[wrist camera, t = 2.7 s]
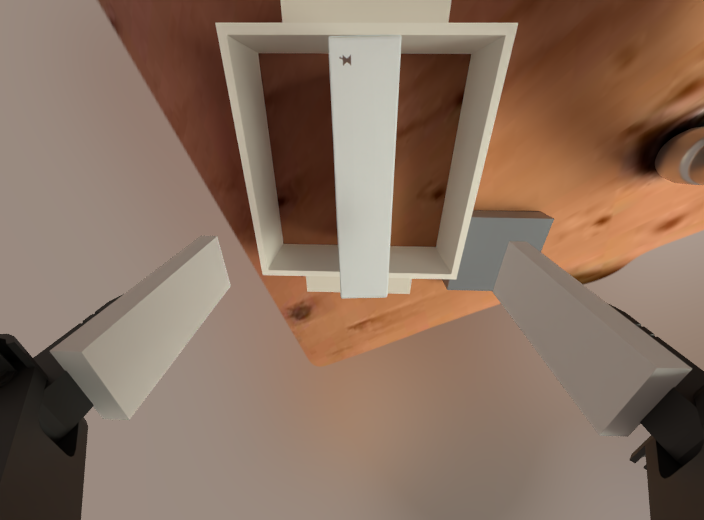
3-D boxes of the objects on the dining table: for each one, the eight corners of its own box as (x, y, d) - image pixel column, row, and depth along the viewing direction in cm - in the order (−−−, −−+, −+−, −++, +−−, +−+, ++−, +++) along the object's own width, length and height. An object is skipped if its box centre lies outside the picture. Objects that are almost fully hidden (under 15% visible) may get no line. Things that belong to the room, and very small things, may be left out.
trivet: (456, 210, 38) (463, 217, 35) (540, 211, 38) (554, 218, 35) (442, 279, 44) (447, 289, 41) (514, 280, 44) (524, 291, 41)
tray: (245, 14, 28) (207, -18, 21) (486, 14, 28) (528, -20, 21) (281, 261, 43) (265, 290, 36) (437, 265, 42) (452, 294, 36)
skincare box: (378, 236, 40) (388, 300, 27) (343, 236, 41) (334, 300, 27) (384, 68, 30) (403, 30, 16) (337, 70, 30) (317, 33, 16)
